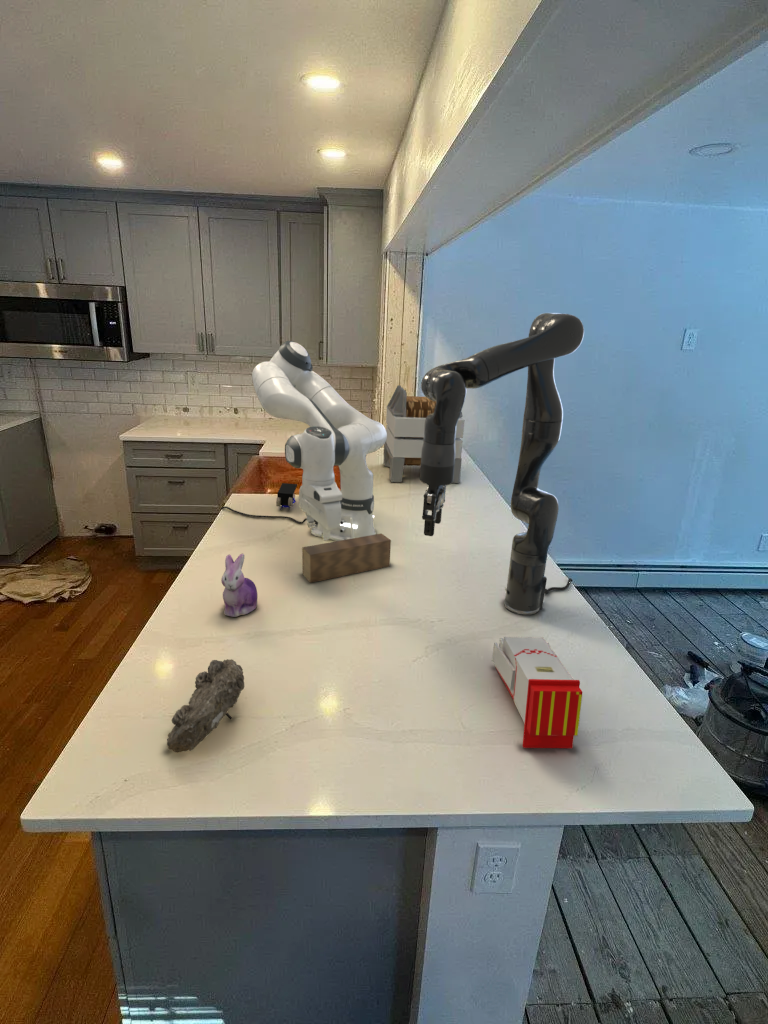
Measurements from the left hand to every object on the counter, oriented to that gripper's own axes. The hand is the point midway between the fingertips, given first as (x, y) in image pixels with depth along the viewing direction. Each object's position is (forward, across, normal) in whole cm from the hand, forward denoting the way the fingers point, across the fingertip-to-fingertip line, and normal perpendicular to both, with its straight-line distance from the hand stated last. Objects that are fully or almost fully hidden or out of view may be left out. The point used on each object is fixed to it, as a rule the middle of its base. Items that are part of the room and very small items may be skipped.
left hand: (318, 533), depth 161 cm
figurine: (+14, +8, -26) cm, 30 cm away
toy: (+13, +70, +14) cm, 73 cm away
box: (+14, 0, +10) cm, 17 cm away
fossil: (+13, +45, -43) cm, 64 cm away
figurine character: (+14, -61, +15) cm, 65 cm away
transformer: (+15, -80, +91) cm, 122 cm away
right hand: (-14, +38, +11) cm, 42 cm away
